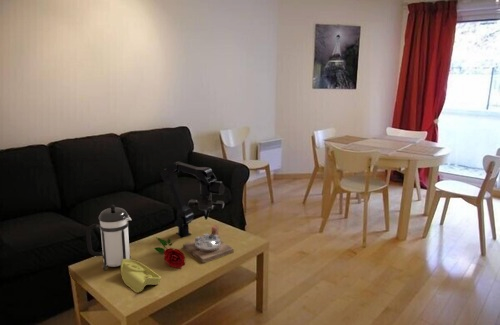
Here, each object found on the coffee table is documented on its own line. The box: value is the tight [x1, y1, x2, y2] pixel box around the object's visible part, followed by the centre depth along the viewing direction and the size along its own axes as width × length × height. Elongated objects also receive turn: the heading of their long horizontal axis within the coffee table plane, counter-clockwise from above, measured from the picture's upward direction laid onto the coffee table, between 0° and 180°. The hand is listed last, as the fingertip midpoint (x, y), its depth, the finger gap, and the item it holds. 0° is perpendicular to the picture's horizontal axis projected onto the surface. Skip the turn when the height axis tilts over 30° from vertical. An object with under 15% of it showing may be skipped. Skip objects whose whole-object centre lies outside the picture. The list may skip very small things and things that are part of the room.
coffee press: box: [85, 204, 132, 271], centre depth 175 cm, size 17×16×30 cm
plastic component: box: [120, 258, 162, 294], centre depth 166 cm, size 20×7×10 cm
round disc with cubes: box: [194, 224, 222, 252], centre depth 195 cm, size 18×13×7 cm
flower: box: [154, 236, 186, 269], centre depth 186 cm, size 9×10×30 cm
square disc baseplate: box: [182, 240, 235, 264], centre depth 194 cm, size 20×18×2 cm
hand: (206, 219), depth 201 cm, fingers closed
